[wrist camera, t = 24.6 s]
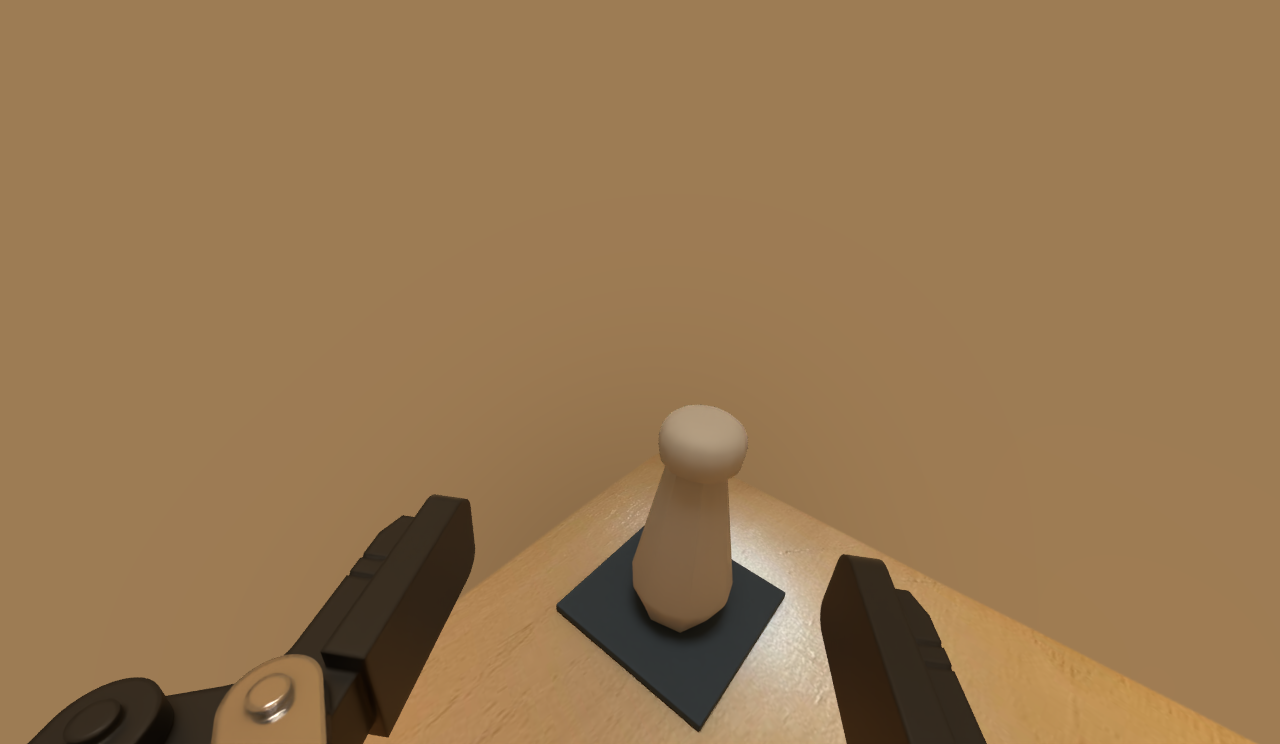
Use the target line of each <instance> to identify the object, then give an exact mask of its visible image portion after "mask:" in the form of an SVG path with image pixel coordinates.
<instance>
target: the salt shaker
mask: <svg viewBox="0 0 1280 744" xmlns="http://www.w3.org/2000/svg"><path fill="white" fill-rule="evenodd" d="M747 449H748V437H747V434H746V432H745V428H744V426H743V425H742V424H741V423H740V422H739V421H738V420H737V419H736V418H734V417H733V416H732V415H731V414H730V413H728V412H726V411H723V410H721V409H719V408H716V407H712V406H705V405H689V406H684V407H682V408H680V409H678V410H675V411H674V412H672V413H670V414H669V415H668V416H667V418H666V419H665V420H664V422H663V423H662V426H661V429H660V432H659V451H660V457H661V461H662V462H663V463H664V465H665V469H664V471H663V474H662V477H661V480H660V483H659V486H658V489H657V492H656V495H655V498H654V500H653V503H652V506H651V509H650V512H649V515H648V518H647V521H646V524H645V527H644V530H643V532H642V535H641V538H640V541H639V544H638V547H637V550H636V553H635V556H634V559H633V562H632V565H633V587H634V589H635V590H636V592H637V594H638V596H639V597H640V599H641V601H642V602H643V604H644V606H645V608H646V610H647V613H648V615H649V617H650V619H651V620H653V621H655V622H657V623H660V624H662V625H664V626H666V627H669V628H671V629H673V630H675V631H678V632H680V633H681V632H683V631H685V630H687V629H690V628H692V627H694V626H696V625H698V624H700V623H703V622H705V621H707V620H708V619H709V618H711V617H712V616H713V615H714V614H716V613H717V612H718V611H719V610H720V609H722V608H723V607H724V606H725V604H726V602H727V600H728V597H729V593H730V590H731V587H732V583H733V581H732V560H731V539H730V517H729V496H728V479H730V478H732V477H733V476H735V475H736V474H737V473H738V472H739V471H740V469H741V466H742V464H743V461H744V458H745V455H746V452H747Z"/></svg>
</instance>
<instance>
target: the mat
mask: <svg viewBox="0 0 1280 744" xmlns="http://www.w3.org/2000/svg"><path fill="white" fill-rule="evenodd" d="M644 527H645V526H644ZM644 527H642V528H641V529H640V530H639V531H638V532H637V533H636V534H635V535H633V536H632V537H631V538H630V539H629V540H628V541H627V542H626V543H625V544H623V545H622V546H621V547H620V548H619V549H618V550H617V551H616V552H614V553H613V554H612V555H611V556H610V557H609V558H608V559H607V560H606V561H604V562H603V563H602V564H601V565H600V566H599V567H598V568H597V569H595V570H594V571H593V572H592V573H591V574H590V575H589V576H588V577H587V578H585V579H584V580H583V581H582V582H581V583H580V584H579V585H578V586H576V587H575V588H574V589H573V590H572V591H571V592H570V593H569V594H568V595H566V596H565V597H564V598H563V599H562V600H561V601H560V602H559V603H557V605H556V609H557V611H559V612H560V613H561V614H562V615H563V616H564V617H566V618H567V619H568V620H569V621H570V622H571V623H573V624H574V625H575V626H576V627H577V628H578V629H580V630H581V631H582V632H583V633H584V634H585V635H587V636H588V637H589V638H590V639H591V640H592V641H594V642H595V643H596V644H597V645H598V646H599V647H601V648H602V649H603V650H604V651H605V652H606V653H608V654H609V655H610V656H611V657H612V658H613V659H615V660H616V661H617V662H618V663H619V664H620V665H622V666H623V667H624V668H625V669H626V670H627V671H629V672H630V673H631V674H632V675H633V676H634V677H636V678H637V679H638V680H639V681H640V682H641V683H643V684H644V685H645V686H646V687H647V688H648V689H650V690H651V691H652V692H653V693H654V694H655V695H657V696H658V697H659V698H660V699H661V700H662V701H664V702H665V703H666V704H667V705H668V706H669V707H671V708H672V709H673V710H674V711H675V712H676V713H678V714H679V715H680V716H681V717H682V718H683V719H685V720H686V721H687V722H688V723H689V724H690V725H691V726H693V727H694V728H695V729H696V730H697V731H700V729H701V728H702V726H703V725H704V723H705V721H706V720H707V718H708V717H709V715H710V714H711V712H712V710H713V709H714V707H715V706H716V704H717V703H718V701H719V699H720V698H721V696H722V695H723V693H724V692H725V690H726V688H727V687H728V685H729V684H730V682H731V681H732V679H733V677H734V676H735V674H736V673H737V671H738V669H739V668H740V666H741V665H742V663H743V662H744V660H745V658H746V657H747V655H748V654H749V652H750V651H751V649H752V647H753V646H754V644H755V643H756V641H757V640H758V638H759V636H760V635H761V633H762V632H763V630H764V629H765V627H766V625H767V624H768V622H769V621H770V619H771V617H772V616H773V614H774V613H775V611H776V610H777V608H778V606H779V605H780V603H781V602H782V600H783V599H784V596H785V592H783V591H782V590H780V589H779V588H777V587H775V586H774V585H772V584H770V583H769V582H767V581H766V580H764V579H762V578H761V577H759V576H758V575H756V574H754V573H753V572H751V571H749V570H748V569H746V568H745V567H743V566H741V565H740V564H738V563H736V562H735V561H733V560H732V559H731V560H732V581H733V583H732V587H731V590H730V593H729V597H728V600H727V602H726V604H725V606H724V607H723V608H722V609H720V610H719V611H718V612H717V613H716V614H714V615H713V616H712V617H711V618H709V619H708V620H707V621H705V622H703V623H700V624H698V625H696V626H694V627H692V628H690V629H687V630H685V631H683V632H681V633H680V632H678V631H675V630H673V629H671V628H669V627H666V626H664V625H662V624H660V623H657V622H655V621H653V620H651V619H650V617H649V615H648V613H647V610H646V608H645V606H644V604H643V602H642V601H641V599H640V597H639V596H638V594H637V592H636V590H635V589H634V587H633V565H632V562H633V559H634V556H635V553H636V550H637V547H638V544H639V541H640V538H641V535H642V532H643V530H644Z"/></svg>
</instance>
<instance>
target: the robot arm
mask: <svg viewBox="0 0 1280 744" xmlns="http://www.w3.org/2000/svg"><path fill="white" fill-rule="evenodd" d="M474 554H475V544H474V534H473V525H472V516H471V507H470V502H469V501H468V499H462V498H455V497H448V496H442V495H432V496H430V497H429V498H428V499H427V500H426V502H425V503H424V505H423V506H422V508H421V509H420V510H419V512H418V513H417V515H416V516H415V517H410V516H401V517H400V518H399V519H397V520H396V521H394V522H393V523H392V524H390V525H389V526H388V527H386V528H385V529H384V530H382V531H381V532H380V533H379V534H378V535H377V536H376V538H375V539H374V541H373V542H372V543H371V544H370V546H369V547H368V548H367V550H366V551H365V552H364V555H363V557H362V558H360V559H359V560H358V561H357V563H356V564H355V565H354V567H353V568H352V569H351V571H350V575H349V576H346V577H345V578H344V580H343V581H342V582H341V584H340V585H339V586H338V588H337V589H336V590H335V592H334V593H333V594H332V596H331V597H330V598H329V600H328V601H327V602H326V603H325V605H324V606H323V608H322V609H321V610H320V611H319V613H318V614H317V615H316V617H315V618H314V619H313V621H312V622H311V623H310V624H309V626H308V627H307V628H306V630H305V631H304V632H303V634H302V635H301V636H300V638H299V639H298V640H297V642H296V643H295V644H294V645H293V646H292V648H291V649H290V650H289V651H288V652H287V653H286V654H285V655H284V656H280V657H277V658H274V659H271V660H269V661H266V662H264V663H262V664H260V665H259V666H257V667H255V668H254V669H252V670H251V671H249V672H248V673H247V674H245V675H244V676H243V677H242V678H241V679H239V680H238V681H237V682H236V683H235V684H231V685H227V686H223V687H216V688H211V689H204V690H199V691H193V692H187V693H181V694H175V695H169V696H165V695H164V693H163V692H162V690H161V689H160V687H159V686H158V685H157V684H156V683H155V682H154V681H152V680H150V679H146V678H127V679H122V680H119V681H115V682H112V683H109V684H106V685H104V686H101V687H99V688H97V689H95V690H93V691H91V692H89V693H87V694H86V695H84V696H82V697H81V698H79V699H77V700H76V701H75V702H73V703H71V704H70V705H69V706H67V707H66V708H65V709H64V710H62V711H61V712H60V713H59V714H58V715H56V716H55V717H54V718H53V719H52V720H51V721H50V722H49V723H48V724H47V725H46V726H45V727H44V728H43V729H42V730H41V731H40V732H39V733H38V734H37V735H36V736H35V737H34V738H33V739H32V740H31V741H30V742H29V743H28V744H363V742H364V740H365V739H366V737H367V735H368V734H371V735H377V736H382V737H389V735H390V733H391V731H392V729H393V727H394V725H395V723H396V721H397V719H398V717H399V715H400V713H401V711H402V709H403V707H404V705H405V703H406V701H407V699H408V697H409V695H410V693H411V691H412V689H413V687H414V685H415V683H416V681H417V679H418V677H419V675H420V673H421V671H422V669H423V667H424V665H425V663H426V661H427V659H428V657H429V655H430V653H431V651H432V649H433V647H434V645H435V643H436V641H437V639H438V637H439V635H440V633H441V631H442V629H443V627H444V625H445V623H446V621H447V619H448V617H449V615H450V613H451V611H452V609H453V607H454V605H455V603H456V601H457V599H458V597H459V595H460V593H461V591H462V589H463V587H464V585H465V583H466V581H467V579H468V577H469V574H470V572H471V569H472V565H473V561H474ZM820 622H821V631H822V636H823V641H824V645H825V649H826V654H827V658H828V663H829V667H830V672H831V676H832V680H833V685H834V689H835V694H836V698H837V702H838V707H839V711H840V716H841V720H842V724H843V729H844V733H845V738H846V742H847V744H987V743H986V741H985V739H984V737H983V734H982V732H981V730H980V728H979V725H978V723H977V721H976V719H975V717H974V714H973V712H972V710H971V708H970V705H969V703H968V701H967V699H966V696H965V694H964V692H963V690H962V687H961V685H960V683H959V681H958V678H957V676H956V674H955V672H954V671H952V669H951V666H952V665H951V663H950V661H949V658H948V656H947V654H946V652H945V649H944V648H942V647H941V640H940V638H939V636H938V634H937V631H936V629H935V627H934V625H933V622H932V620H931V618H930V616H929V614H928V613H927V612H926V611H925V610H924V609H923V607H922V606H921V605H920V604H919V603H918V601H917V600H916V599H915V598H914V597H913V596H912V594H911V593H910V592H909V591H907V590H900V589H895V587H894V585H893V582H892V580H891V577H890V575H889V572H888V570H887V567H886V565H885V564H884V562H883V561H882V560H880V559H873V558H866V557H859V556H852V555H845V554H843V555H841V556H840V558H839V560H838V562H837V565H836V567H835V570H834V572H833V575H832V577H831V580H830V583H829V585H828V588H827V590H826V593H825V595H824V598H823V601H822V605H821V613H820Z"/></svg>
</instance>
